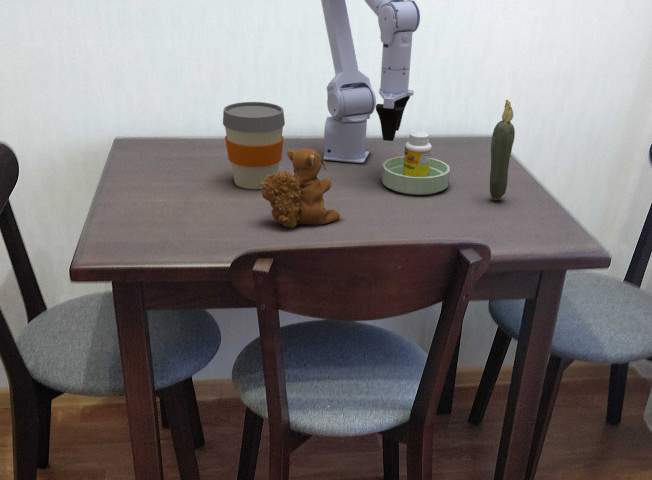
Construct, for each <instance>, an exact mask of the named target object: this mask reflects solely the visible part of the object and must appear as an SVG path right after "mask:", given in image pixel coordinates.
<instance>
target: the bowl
mask: <svg viewBox="0 0 652 480" xmlns="http://www.w3.org/2000/svg"><path fill="white" fill-rule="evenodd" d="M403 166H404V155H402V156H394V157H392V158H388V159H386V160H385V161H383V163H382V166H381V183H382V184H383V185H384V187H386V188H388V189H390V190H392V191H394V192H396V193H401V194H405V195H413V196H427V195H434V194H437V193H439V192H442V191H445V189H447V188H448V187H449V184H450V183H449V182H450V174H451V167H450V166H449V164H448V163H446V162H445V161H443V160H440V159H437V158H433V157H431V159H430V169H429V177H411V176H405V175H403Z"/></svg>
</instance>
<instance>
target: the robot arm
mask: <svg viewBox="0 0 652 480" xmlns="http://www.w3.org/2000/svg"><path fill="white" fill-rule="evenodd" d="M364 2H365V4H367V6H368V7H369V9H371V10H372V12H373V13H374V14H375V15H376V17H377V23H378V27H379V31H380V37H379V38H380V42H381V43H382V51H381V52H382V54H381V69H380V71H381V73H380V85H379V87H380V88H379V89H378V95H380V97H381V98H382V99H383V103H377V97H376V93H375V91H374V89H373V87H372V85H371V80H370V77H368V76H367V75H366V74H364V73H363V72H361V70H359V65H358V61H357V55H356V50H355V45H354V39H353V33H352V29H351V24H350V18H349V13H348V7H347V3H346V0H320V3H321V7H322V13H323V18H324V23H325V29H326V33H327V34H326V35H327V38H328V44H329V49H330V52H331V54H330V55H331V59H332V64H333V69H334V76H333V78H332V79H331V80H330V81H329V83H328V84H327V86H326V92H327V93H326V94H327V95H326V96H327V100H326V103H327V104H326V105H327V106H326V107H327V110H328V112H329V114H330V116H327V117H326V119H325V123H324V132H323V156H322V160H323V161H334V162H343V163H355V164H364V163H365V161H366V160H367V158H368V156H369V154H370V151H368V150H366V146H367V143H366V142H367V127H368V126H367V125H368V120H369V119H371V115H372V114H373V113H374V111H376V114H377V115H378V119H379V122H380V129H381V136H382V141H386V142H387V141H388V142H394V140H395V137H396V132H398V131H399V130H400V127H401V124H402V119H403V116H404V112H405V109H406V106H407V104H408V102H409V100H410V99H411V97H413V96H414V94H415V91H414V90H412V89H409V83H410V70H411V59H412V45H413V34H414V33H415V32H416V31H418V28H419V27H420V23H421V12H420V11H421V10H420V8H419V6H418V4H417V2H416V1H415V0H364Z"/></svg>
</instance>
